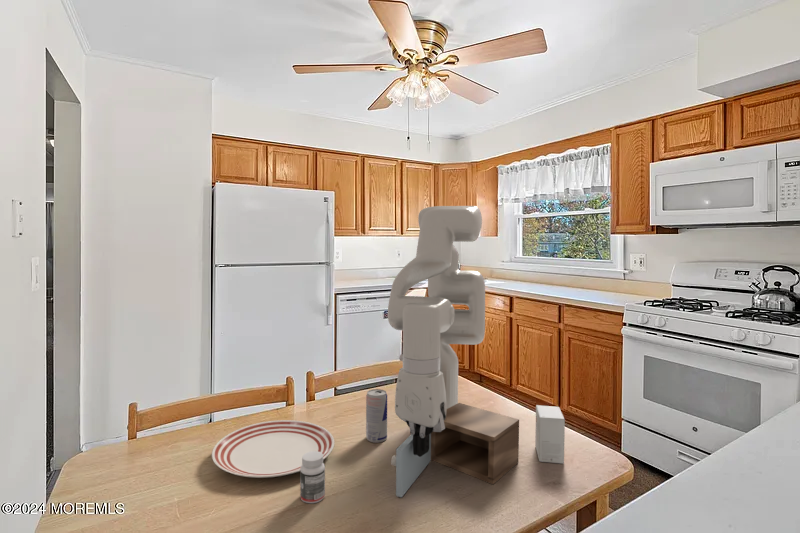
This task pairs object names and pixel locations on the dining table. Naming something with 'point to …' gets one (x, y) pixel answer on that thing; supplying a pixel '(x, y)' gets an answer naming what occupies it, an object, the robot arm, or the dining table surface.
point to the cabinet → (477, 442)
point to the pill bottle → (312, 477)
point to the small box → (550, 434)
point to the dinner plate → (270, 448)
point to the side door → (408, 465)
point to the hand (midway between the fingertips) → (421, 453)
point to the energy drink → (376, 415)
